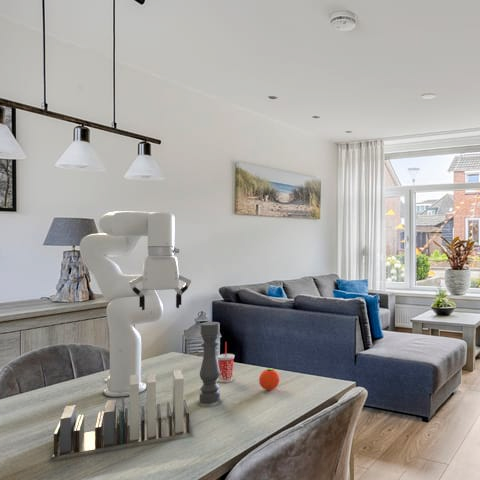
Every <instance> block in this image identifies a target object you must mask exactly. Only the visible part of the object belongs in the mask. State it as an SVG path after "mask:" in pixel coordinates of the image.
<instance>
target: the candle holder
mask: <svg viewBox="0 0 480 480" xmlns="http://www.w3.org/2000/svg"><path fill="white" fill-rule="evenodd" d="M220 325H221V323H220V322H218V321H206V322H201V323H200V335H201V338H202V340H203V341H202V342H201V347H202V349H203V358H202V362H201V365H200V369H199V377H200V380H201V382H202V385H201V387H200V388H199V389H200V390H199V398H198V399H199V403H201V404H214V403H217V402H219V401H221V391H220V386H219V384H218V383H217V382H218V380H219V376H220V369H219V365H218V359H217V347H218V346H219V341H218V337H219V334H220V330H221V329H220Z"/></svg>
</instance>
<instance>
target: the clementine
mask: <svg viewBox="0 0 480 480" xmlns="http://www.w3.org/2000/svg"><path fill="white" fill-rule="evenodd" d="M280 381H281V379H280V374H279V373H278V371H276V369H274V368H273V367H271V368H267V369H264V370H263V371H262V372H261V373H260V375H259V378H258V382H259V385H260V387H261V388H262V389H264V390H266V391H271V390H274V389H275V388H277V386H278V385H279V384H280Z"/></svg>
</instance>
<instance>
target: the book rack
mask: <svg viewBox="0 0 480 480" xmlns="http://www.w3.org/2000/svg"><path fill="white" fill-rule="evenodd" d="M145 414H146V413H145V405H141V406H140V423H139V439H137V440H131V441H130V425H129V408H128V407H126V408H125V396H121V403H120V409H119V408H118V409H117V414H116V431H115V440H114V444H108V445H104V411H103V410H102V411H98V413H97V417H96V422H95V426H94V430H93V431H86V432H85V414H84V413H83V414H78V415H77V417H76V424H75V427H74V430H73V446H72V449H71V451H68V452H62V453H60V420H59V422H58V423H57V426H56V427H55V430H54V433H53V454H52V458H54V457H55V458H56V457H60V456H67V455H72V454H78V453H84V452H89V451H90V452H91V451H95V450H100V449H106V448H112V447H118V446H124V445H129V444H136V443H141V442H146V441H147V442H148V441H152V440H159V439H163V438H169V437H174V436H175V437H176V436H182V435H187V434H191V430H190V410H189V408H188V403H187V400H186V399H184V401H183V432H179V433H175V430H174V424H173V413H172V409H171V404H170V401H167V402H166V419H162V412H161V405H160V403H156V436H154V437H149V438H147V422H146V415H145Z"/></svg>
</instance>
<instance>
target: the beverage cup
mask: <svg viewBox="0 0 480 480" xmlns="http://www.w3.org/2000/svg"><path fill="white" fill-rule="evenodd" d="M224 343H225V344H224V353H221V354H218V355H216V357H217V361H218V365H219V369H220V376H219V378H218V382H219V383H230V382H232V381H233V377H234V376H233V375H234V363H235V362H234V361H235V360H234V359H235V356H236V355H235V354H233V353H228V352H227V350H228V349H227V341H225V342H224Z"/></svg>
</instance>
